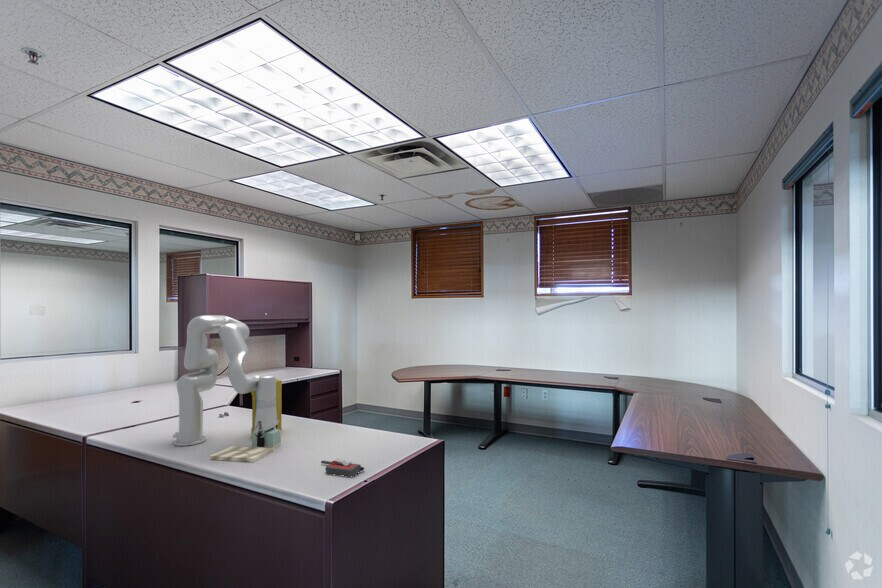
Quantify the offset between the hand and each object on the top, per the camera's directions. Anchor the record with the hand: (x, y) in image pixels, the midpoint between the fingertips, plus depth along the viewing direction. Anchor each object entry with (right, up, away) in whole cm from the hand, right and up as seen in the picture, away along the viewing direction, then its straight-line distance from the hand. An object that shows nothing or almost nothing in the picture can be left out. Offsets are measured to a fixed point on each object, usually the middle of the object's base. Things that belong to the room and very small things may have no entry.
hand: (266, 443), depth 183 cm
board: (-5, -1, -11) cm, 12 cm away
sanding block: (0, -2, 0) cm, 2 cm away
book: (-8, -3, +21) cm, 23 cm away
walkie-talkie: (+39, 0, -30) cm, 49 cm away
